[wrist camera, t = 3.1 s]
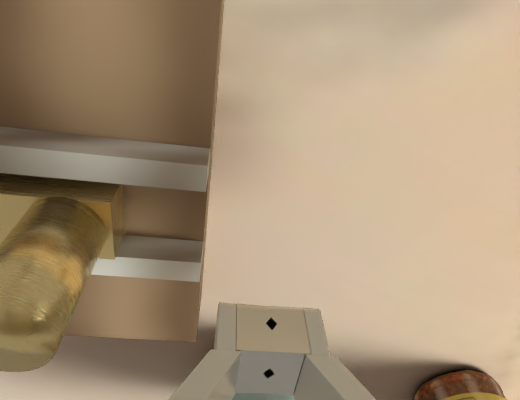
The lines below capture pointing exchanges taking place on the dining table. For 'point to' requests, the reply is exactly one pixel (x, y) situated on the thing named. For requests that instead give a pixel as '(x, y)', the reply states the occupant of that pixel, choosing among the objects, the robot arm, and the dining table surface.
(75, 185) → the bolt
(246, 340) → the robot arm
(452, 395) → the sauce bottle
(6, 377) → the dining table surface
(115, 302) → the door latch block
